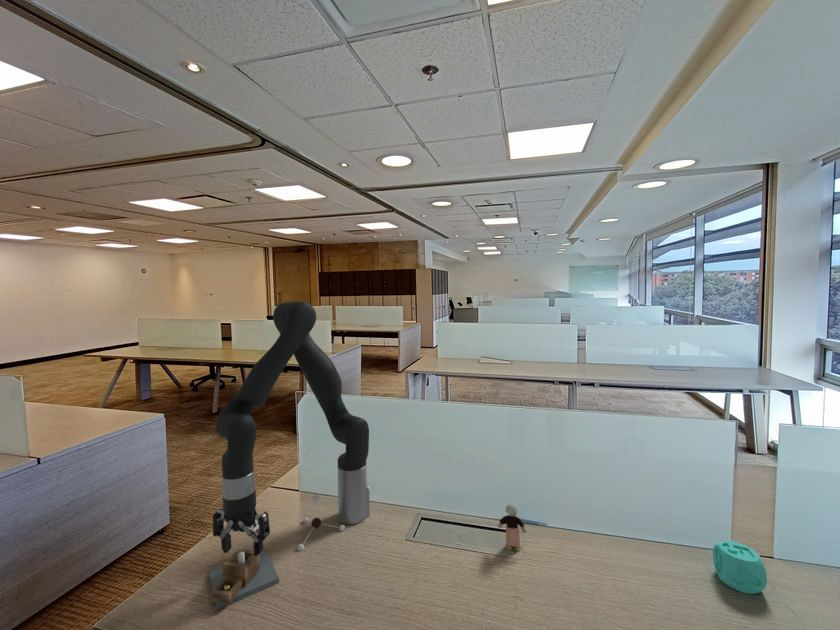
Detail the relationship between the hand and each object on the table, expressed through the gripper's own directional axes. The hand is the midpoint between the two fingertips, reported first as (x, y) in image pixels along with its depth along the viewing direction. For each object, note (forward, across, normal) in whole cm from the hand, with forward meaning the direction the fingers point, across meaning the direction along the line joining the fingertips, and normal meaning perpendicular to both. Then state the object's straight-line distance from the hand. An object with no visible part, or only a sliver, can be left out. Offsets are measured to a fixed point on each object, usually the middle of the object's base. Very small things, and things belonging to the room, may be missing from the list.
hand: (242, 552), depth 94 cm
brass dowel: (+6, 0, +6) cm, 8 cm away
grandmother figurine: (+9, -68, -23) cm, 73 cm away
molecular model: (+9, -12, -21) cm, 26 cm away
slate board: (+7, 0, 0) cm, 7 cm away
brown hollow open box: (+6, 0, +3) cm, 7 cm away
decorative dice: (+9, -123, -18) cm, 124 cm away
